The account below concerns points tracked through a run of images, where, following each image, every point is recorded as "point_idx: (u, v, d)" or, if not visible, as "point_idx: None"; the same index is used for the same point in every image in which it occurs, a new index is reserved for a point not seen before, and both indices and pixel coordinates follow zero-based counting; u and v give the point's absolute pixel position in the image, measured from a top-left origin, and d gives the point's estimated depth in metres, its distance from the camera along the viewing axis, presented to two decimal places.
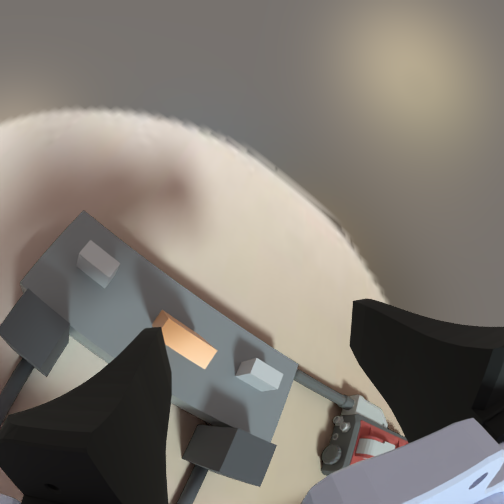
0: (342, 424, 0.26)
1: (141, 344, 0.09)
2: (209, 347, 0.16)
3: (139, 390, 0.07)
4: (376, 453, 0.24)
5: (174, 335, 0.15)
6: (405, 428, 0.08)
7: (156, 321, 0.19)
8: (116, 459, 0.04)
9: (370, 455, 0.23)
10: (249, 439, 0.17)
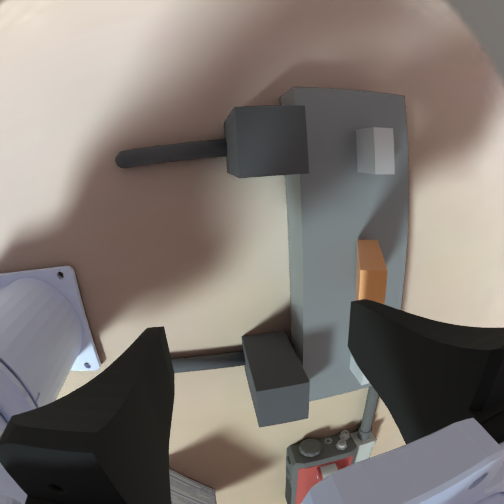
0: (343, 441, 0.25)
1: (144, 344, 0.09)
2: None
3: (143, 390, 0.07)
4: None
5: (373, 286, 0.13)
6: (403, 428, 0.08)
7: (365, 245, 0.17)
8: (121, 459, 0.04)
9: None
10: (303, 396, 0.17)
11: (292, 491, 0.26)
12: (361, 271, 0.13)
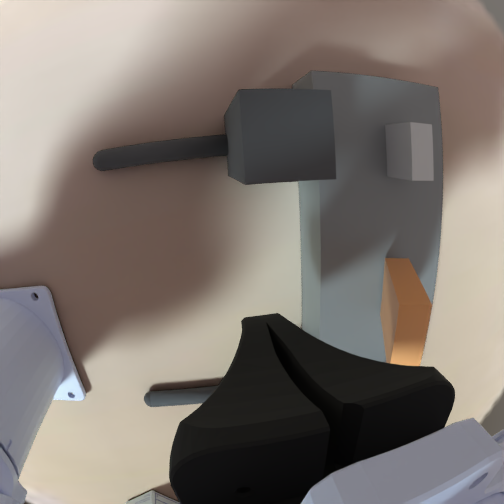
0: None
1: (259, 332, 0.09)
2: None
3: None
4: None
5: (413, 323, 0.10)
6: None
7: (397, 267, 0.13)
8: None
9: None
10: None
11: None
12: (400, 306, 0.10)
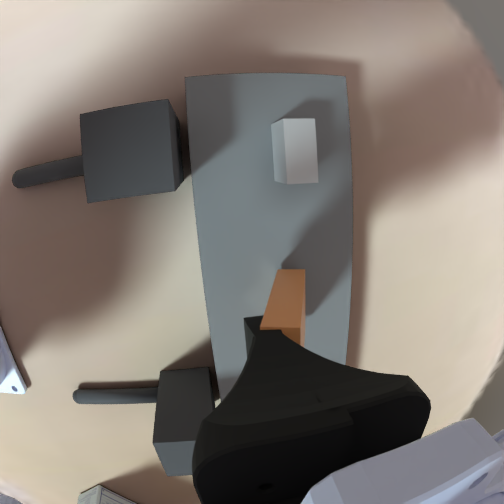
0: None
1: (271, 330, 0.09)
2: None
3: None
4: None
5: None
6: None
7: (285, 280, 0.13)
8: None
9: None
10: None
11: None
12: (261, 328, 0.10)
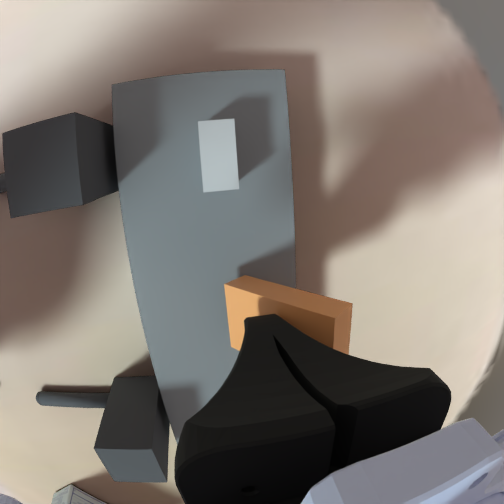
0: None
1: (261, 331, 0.09)
2: None
3: None
4: None
5: (343, 329, 0.10)
6: None
7: (255, 287, 0.12)
8: None
9: None
10: (150, 461, 0.13)
11: None
12: (335, 319, 0.10)
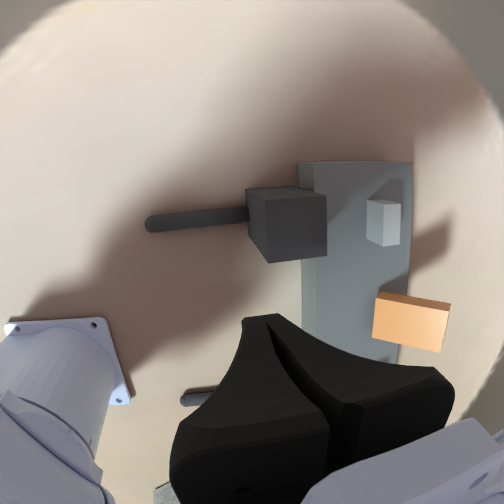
0: None
1: (259, 332, 0.09)
2: (443, 338, 0.18)
3: None
4: None
5: None
6: None
7: (395, 298, 0.19)
8: None
9: None
10: None
11: None
12: (448, 312, 0.17)
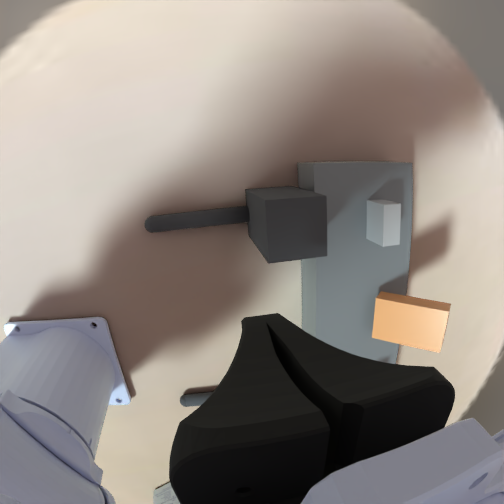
0: None
1: (259, 332, 0.09)
2: (443, 338, 0.18)
3: None
4: None
5: None
6: None
7: (395, 298, 0.19)
8: None
9: None
10: None
11: None
12: (448, 312, 0.17)
